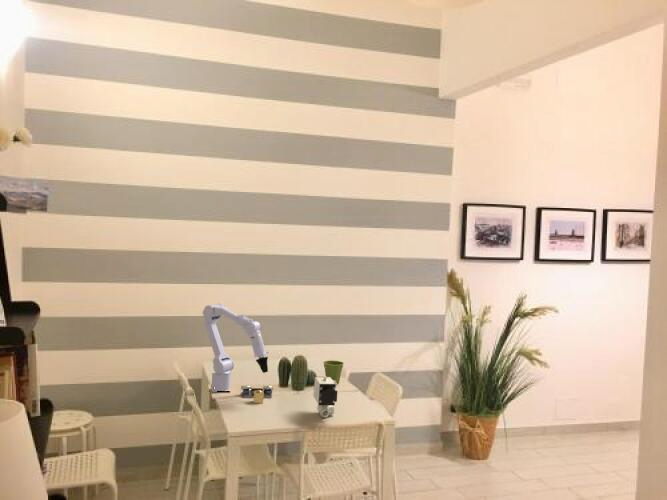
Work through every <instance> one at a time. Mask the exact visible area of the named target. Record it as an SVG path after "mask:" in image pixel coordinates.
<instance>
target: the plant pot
mask: <svg viewBox="0 0 667 500" xmlns="http://www.w3.org/2000/svg"><path fill="white" fill-rule="evenodd" d="M322 363H323V367H324V374H325V376H326V377H330V378H331V379H332V380H335V381H336V383H338V384H339V383H340V380H341V375H342V371H343V367H344V364H345V362H343V361H339V360H323V362H322Z"/></svg>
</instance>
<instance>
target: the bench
mask: <svg viewBox="0 0 667 500" xmlns="http://www.w3.org/2000/svg"><path fill="white" fill-rule="evenodd" d="M240 390H241V391H242V398H243V399H254V391H256V390H262V391H263V392H264V397H263V399H273V396H272V395H273V391H274V385H263V386H262V388H261V387H255V388H254V387H252V385H240Z"/></svg>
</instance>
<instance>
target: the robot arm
mask: <svg viewBox="0 0 667 500" xmlns="http://www.w3.org/2000/svg"><path fill="white" fill-rule="evenodd" d="M202 315H203V322H204V323H203V324H204V327H205V330H206V334H207V337H208V339H209V343H210V346H211V348H212V349H211V350H212V352H213V354H214V357H213V359H212V363H213V366H212V369H213V371H214V372H213V373H211V375H212V376H211V384H210V388H211V393H218V392H217V391H226V390H229V389H230V390H231V387H230V386H231V373H232V370H233V369H234V367H235V364H234V361H233V359H232V358H231V356H230V355H229V354H228V353H226V350H225V347H224V344H223V341H222V338H221V336H220V333H219V330H218V326H217V323H218V321H219V319H220V318H221V317H225V318H227V319H229V320H231V321H233V322H234V325H236V326H237V327H240V328H241V329H243V330H244V331H245V333H246V334H247V336H248V338H249V341H250V343H251V348H252V350H253V355H254V358H258V359H256V360H255V362H256V363H257V364H258V366H259V368H260V370H261V372H262V373H263V374H265V373H268V372H269V367H268V359H269V357H268V356H265V355H267V354H269V351H266V347H265V345H264V340H263V336H262V333H261V330H262V324H261V322H260V321H258V320H253V319H252V318H249V317H247V316H246V315H245V314H243V313H242V314H237V313H235V311H234V312H233V311H232V310H231V309H229V308H227V307H226V306H225V305H223V304H221V303H216V304H208V305H206V306H204V308H203V310H202ZM214 387H215V389H214Z"/></svg>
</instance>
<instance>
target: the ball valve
mask: <svg viewBox="0 0 667 500" xmlns="http://www.w3.org/2000/svg"><path fill="white" fill-rule="evenodd" d="M313 385H314V386H313V398H314V399H315V402H316V403H317V407H316V408H317V409H316V410H317V411H318V415H320V417H322V418H327V417H329V416H331V415H334V413H335V408H334V406H335V403H337V402H338V390H337V387H336V386H337V384H336V381H335V380H332V379H331V378H330V377H326V375H325V376H314V384H313Z"/></svg>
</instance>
